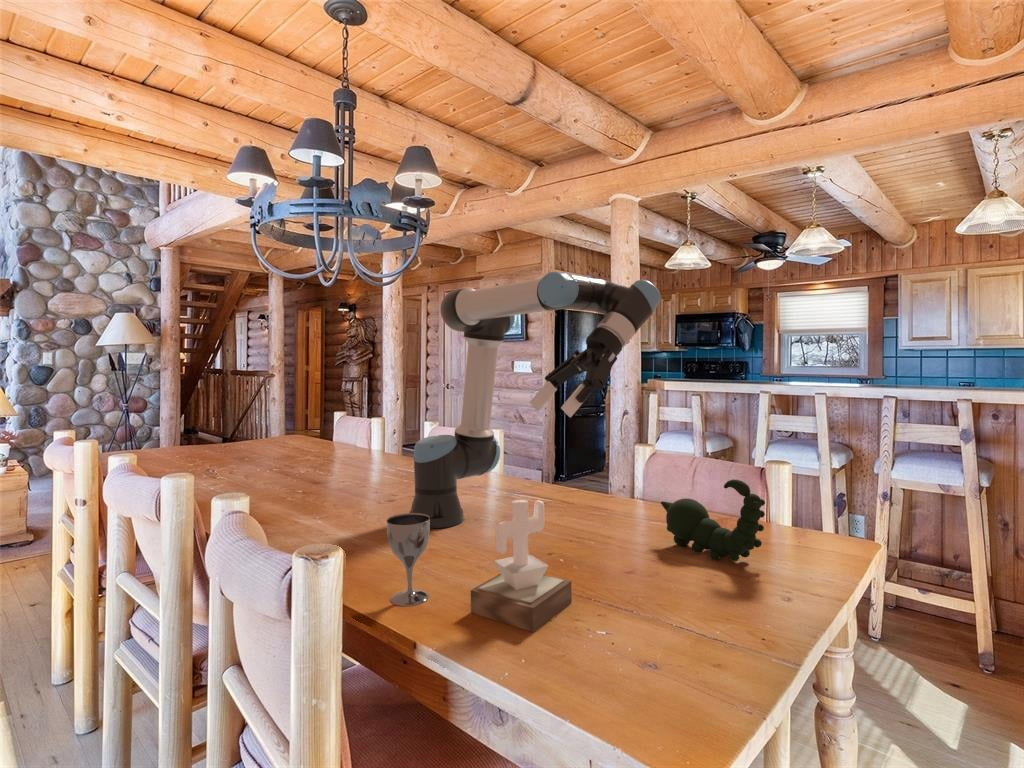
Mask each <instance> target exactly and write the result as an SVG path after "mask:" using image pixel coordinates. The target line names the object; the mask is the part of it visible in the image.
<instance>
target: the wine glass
mask: <svg viewBox="0 0 1024 768" xmlns="http://www.w3.org/2000/svg"><path fill="white" fill-rule="evenodd" d="M430 530H431V528H430V517H429V516H428V515H426V514H421V513H410V512H408V513H407V512H406V513H398V514H395V515H392V516H390V517H388V518H387V519H386V536H387V540H388V545H389V548H390V551H391V552H392V554H393V555H394V556H396V558H397V559H398V560H399V561H400V562H401V563H402V565H403V566H404V569H405V572H406V580H407V581H406V582H407V589H406V590H402V591H399V592H396V593H394V594H393V595H392V596H391V597H390V602H391V603H392V604H393V605H396V606H400V607H412V606H413V607H414V606H418V605H421V604H423V603H425V602H426V601H428V599H429V598H430V594H429V593H428V592H427V591H424V590H421V589H413V583H412V581H413V571H414V566H415V564H416V562H417V561H418V560H419V558H420V557H421V556H422V555H423V553H424V552H425V550H426V549H427V547H428V544H429V539H430Z"/></svg>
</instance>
